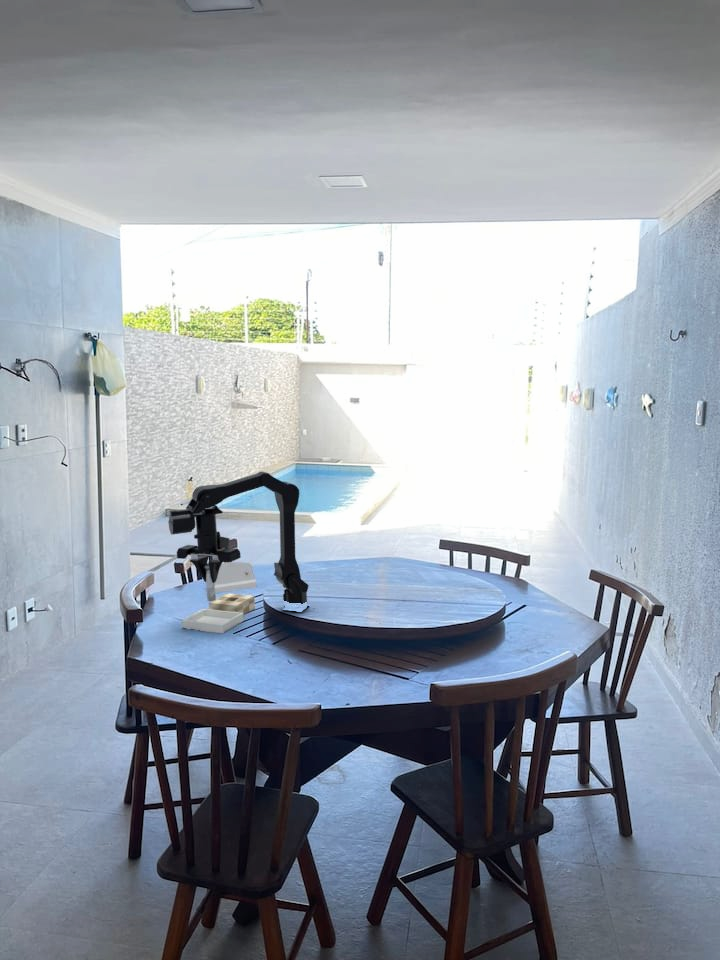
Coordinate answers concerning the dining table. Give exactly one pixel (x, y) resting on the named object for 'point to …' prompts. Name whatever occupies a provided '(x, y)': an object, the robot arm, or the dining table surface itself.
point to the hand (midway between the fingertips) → (210, 582)
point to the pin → (209, 584)
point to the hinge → (235, 577)
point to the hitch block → (233, 603)
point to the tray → (213, 620)
